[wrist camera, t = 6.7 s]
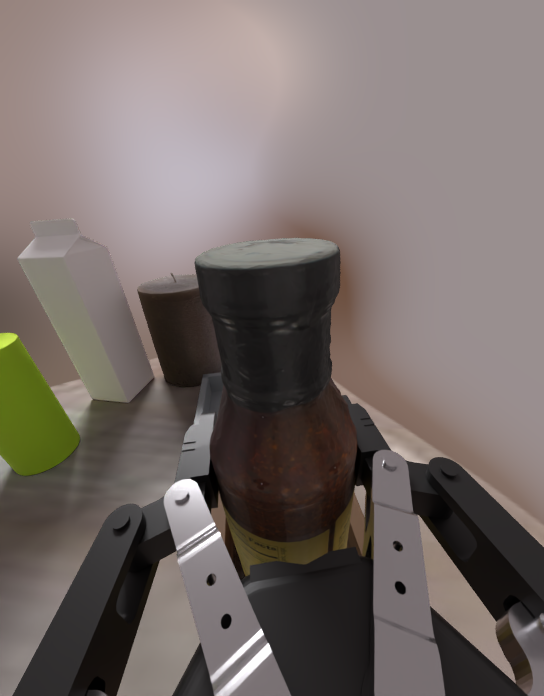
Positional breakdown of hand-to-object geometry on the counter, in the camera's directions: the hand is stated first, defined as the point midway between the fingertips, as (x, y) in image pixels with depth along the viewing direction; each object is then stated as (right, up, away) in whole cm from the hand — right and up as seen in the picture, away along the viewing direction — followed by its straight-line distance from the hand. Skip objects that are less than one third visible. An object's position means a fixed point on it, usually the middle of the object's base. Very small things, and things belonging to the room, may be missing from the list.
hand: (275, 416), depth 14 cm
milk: (-22, -2, +24) cm, 33 cm away
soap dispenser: (-24, -8, +15) cm, 30 cm away
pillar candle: (-12, 0, +28) cm, 30 cm away
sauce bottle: (+1, -11, +3) cm, 11 cm away
